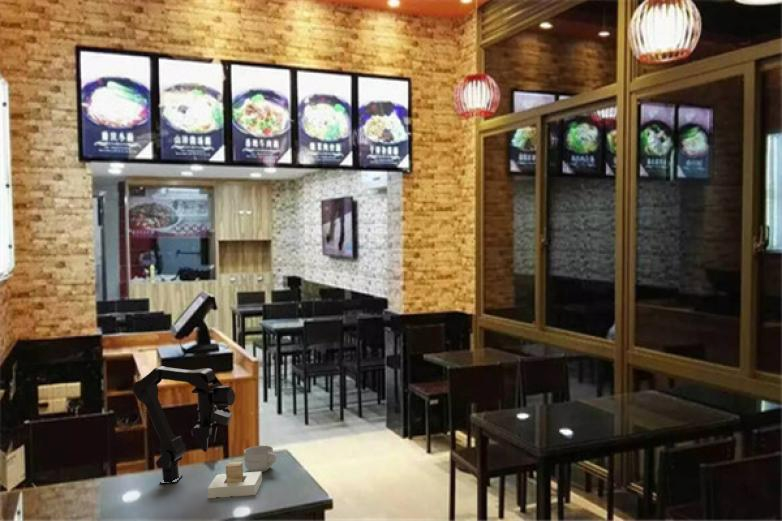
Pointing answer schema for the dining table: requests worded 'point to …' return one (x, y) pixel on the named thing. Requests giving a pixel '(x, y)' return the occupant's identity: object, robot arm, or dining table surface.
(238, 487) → the well block
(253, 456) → the teacup
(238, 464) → the wooden bar
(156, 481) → the dining table surface
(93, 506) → the dining table surface
